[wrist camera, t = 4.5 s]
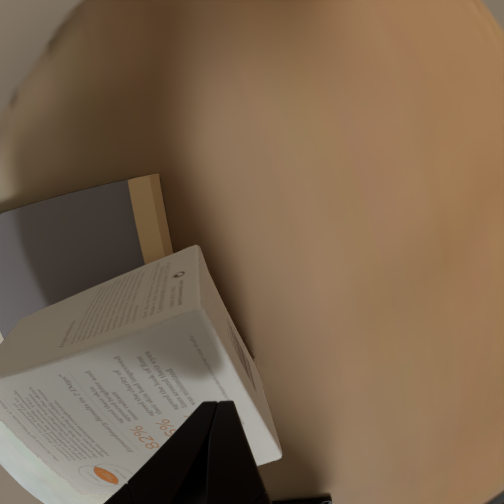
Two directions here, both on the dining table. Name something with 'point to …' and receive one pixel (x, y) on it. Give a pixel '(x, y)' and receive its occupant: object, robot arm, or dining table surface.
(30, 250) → the mat
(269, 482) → the dining table surface
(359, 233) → the dining table surface
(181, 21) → the dining table surface
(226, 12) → the dining table surface
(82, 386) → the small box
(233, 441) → the robot arm
